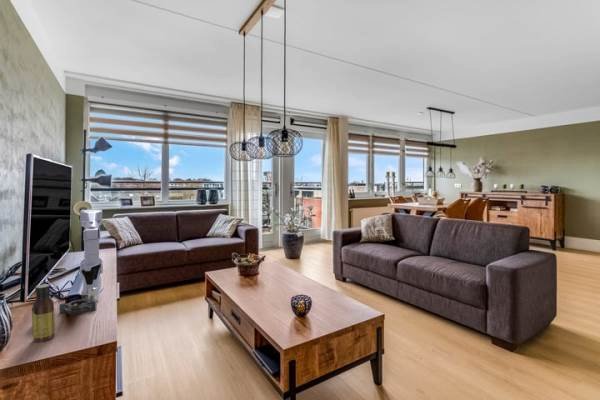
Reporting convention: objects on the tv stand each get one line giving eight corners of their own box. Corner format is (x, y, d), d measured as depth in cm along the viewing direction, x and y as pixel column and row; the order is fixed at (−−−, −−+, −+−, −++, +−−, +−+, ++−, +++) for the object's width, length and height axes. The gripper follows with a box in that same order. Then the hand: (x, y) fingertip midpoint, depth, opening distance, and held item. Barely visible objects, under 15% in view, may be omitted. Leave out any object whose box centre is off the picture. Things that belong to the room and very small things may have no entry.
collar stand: (63, 309, 137) (63, 299, 137) (98, 306, 141) (98, 297, 141) (56, 316, 130) (56, 306, 130) (93, 312, 134) (93, 303, 134)
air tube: (99, 300, 148) (99, 286, 148) (96, 303, 144) (96, 289, 144) (89, 301, 147) (89, 287, 147) (86, 304, 143) (86, 290, 143)
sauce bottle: (41, 334, 114) (41, 282, 113) (59, 334, 115) (59, 282, 114) (27, 343, 108) (27, 288, 107) (45, 343, 108) (45, 288, 107)
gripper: (86, 251, 149) (86, 278, 150) (76, 257, 136) (76, 287, 136) (103, 250, 152) (103, 277, 152) (95, 256, 138) (95, 286, 139)
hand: (91, 281), depth 144 cm, fingers open, 7 cm apart
